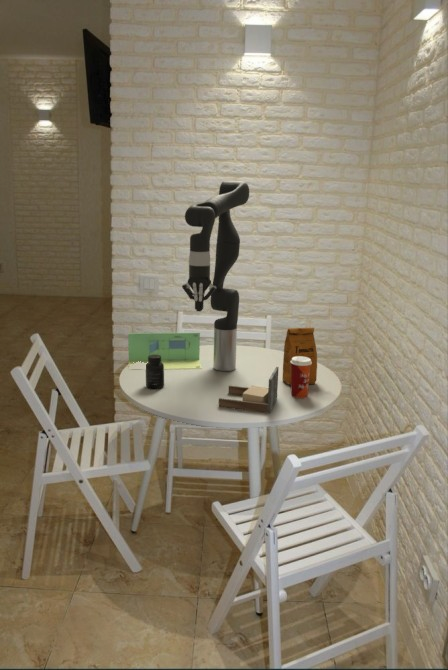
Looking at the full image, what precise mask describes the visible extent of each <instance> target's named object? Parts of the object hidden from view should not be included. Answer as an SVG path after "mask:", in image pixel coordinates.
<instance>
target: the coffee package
mask: <svg viewBox="0 0 448 670" xmlns="http://www.w3.org/2000/svg"><path fill="white" fill-rule="evenodd" d="M314 332H315V327H294V328H287V330H286V336H285V339H284V340H285V341H284V344H283V345H284V347H283V362H282V381H284V382H285V383H286V384H288V385H290V386H291V362H290V361H291V360H292V358H293V357H296V356H303V357H308V358H310V359H311V362H312V364H311V368H310V376H309V384H308V385H315V384H316V382H317V375H318V372H317V371H318V354H317V353H318V352H317V346H316V341H315V340H316V339H315V333H314Z"/></svg>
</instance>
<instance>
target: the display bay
mask: <svg viewBox="0 0 448 670" xmlns="http://www.w3.org/2000/svg"><path fill="white" fill-rule="evenodd" d="M279 369H280V368H279V366H276V367H275V368H274V370H273V372H272V374H271V375H270V377H269V378H268V387H267V388H268V404H265V403H256V402H248V401H242V400H238V399H229V398H221V397H219V398H218V408H221V409H229V410H230V409H232V410H239V411H245V412H246V411H248V412H254V413H255V412H256V413H264V414H271V411H272V410H273V407H274V406H275V403H276V402H277V399H278V387H279V386H278V385H279ZM249 388H250V387H246V386H237V385H235V386H234V385H228V391H227V392H228V395H235V396H242V397H243V393H244V392H245V391H246V390H247V389H249Z"/></svg>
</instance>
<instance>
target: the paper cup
mask: <svg viewBox="0 0 448 670" xmlns="http://www.w3.org/2000/svg"><path fill="white" fill-rule="evenodd" d="M290 362H291V385H290V388H291V389H290V390H291V391H290V392H291V397H293V398H295V399H305V398H307V396H308V391H309V385H310V384H309V376H310V368H311V364H312V362H311V359H310V358H308V357H303V356H296V357H293V358H292V360H291V361H290Z"/></svg>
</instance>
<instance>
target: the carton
mask: <svg viewBox="0 0 448 670" xmlns="http://www.w3.org/2000/svg"><path fill="white" fill-rule="evenodd" d="M248 388H249V389H247V390H246V391H245V392H244V393H243V396H242V400H241V401H248V402H256V403H265V404H268V388H269V387H265V386H258V385H251V386H250V387H248Z"/></svg>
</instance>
